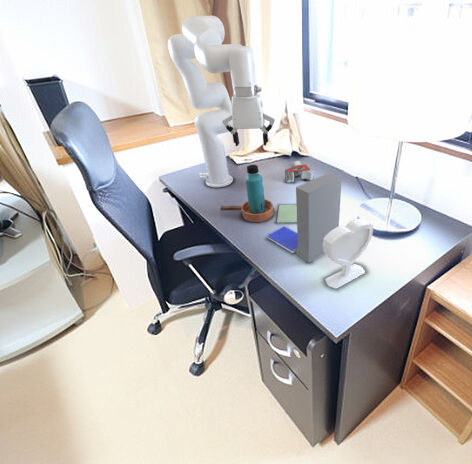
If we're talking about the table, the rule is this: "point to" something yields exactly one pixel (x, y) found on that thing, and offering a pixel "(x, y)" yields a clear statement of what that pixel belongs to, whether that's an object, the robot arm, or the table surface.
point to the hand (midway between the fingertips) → (251, 144)
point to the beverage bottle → (255, 190)
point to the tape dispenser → (298, 172)
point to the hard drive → (285, 239)
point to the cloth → (287, 214)
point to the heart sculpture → (347, 250)
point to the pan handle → (230, 207)
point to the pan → (257, 217)
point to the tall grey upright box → (317, 213)
